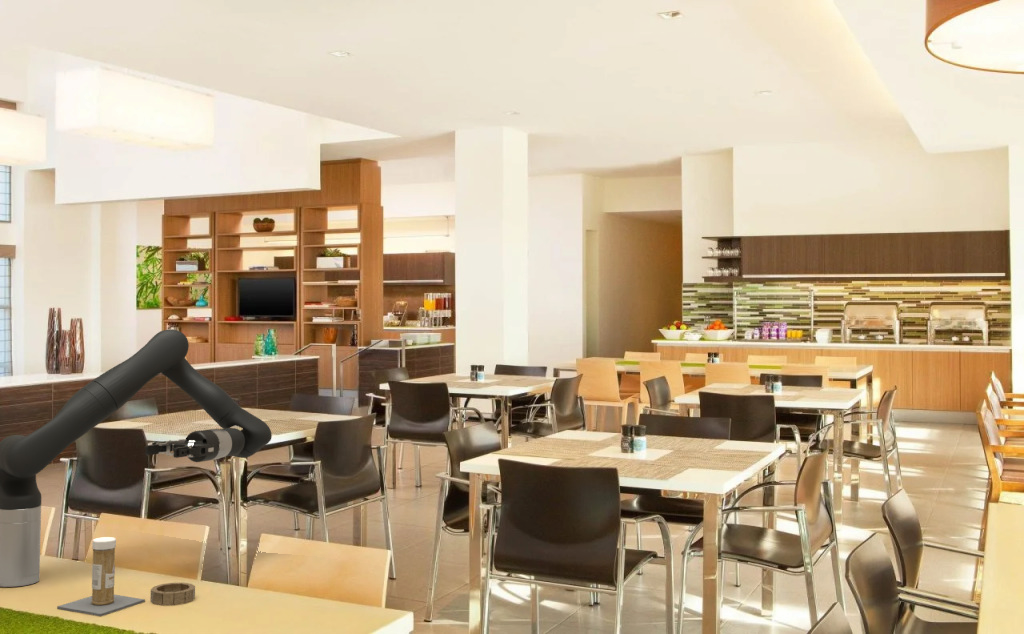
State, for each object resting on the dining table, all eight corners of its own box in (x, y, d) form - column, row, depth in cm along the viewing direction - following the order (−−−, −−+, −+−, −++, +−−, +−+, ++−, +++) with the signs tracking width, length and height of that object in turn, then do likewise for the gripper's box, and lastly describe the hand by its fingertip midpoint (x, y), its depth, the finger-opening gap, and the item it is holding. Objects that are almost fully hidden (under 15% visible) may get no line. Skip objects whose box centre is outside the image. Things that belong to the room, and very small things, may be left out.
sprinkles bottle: (116, 603, 203) (118, 539, 203) (93, 606, 200) (94, 541, 201) (111, 598, 207) (113, 535, 207) (88, 601, 204) (90, 537, 204)
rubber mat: (57, 608, 200) (57, 606, 200) (102, 594, 211) (102, 592, 211) (100, 616, 196) (100, 614, 196) (144, 601, 207) (144, 599, 207)
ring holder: (142, 602, 206) (142, 590, 206) (171, 592, 214) (171, 580, 214) (174, 607, 203) (174, 595, 203) (203, 597, 211) (203, 585, 211)
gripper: (186, 428, 240) (137, 433, 226) (232, 431, 235) (184, 437, 220) (185, 458, 240) (136, 466, 225) (231, 462, 235) (184, 470, 220)
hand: (160, 451), depth 223 cm, fingers open, 8 cm apart
